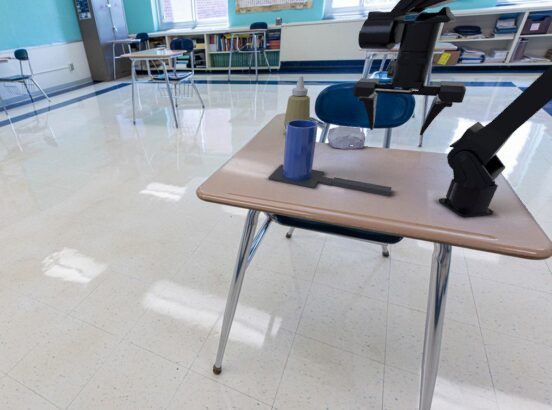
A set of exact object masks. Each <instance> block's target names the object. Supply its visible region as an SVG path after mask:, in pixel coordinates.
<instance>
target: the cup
mask: <svg viewBox="0 0 552 410" xmlns="http://www.w3.org/2000/svg"><path fill="white" fill-rule="evenodd" d="M318 126H319V125H318V122H317V121H313V120H293V121H289V122H287V125H286V129H285V137H284V138H285V140H284V150H283V151H284V152H283V154H284V155H283V163H282V164H283V175H284V176H285V177H286V178H288V179H292V180H306V179H308V178H310V177H311V173H312V170H313V166H314V157H315V152H316V151H315V150H316V143H317V142H316V141H317V133H318V128H319V127H318Z"/></svg>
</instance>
